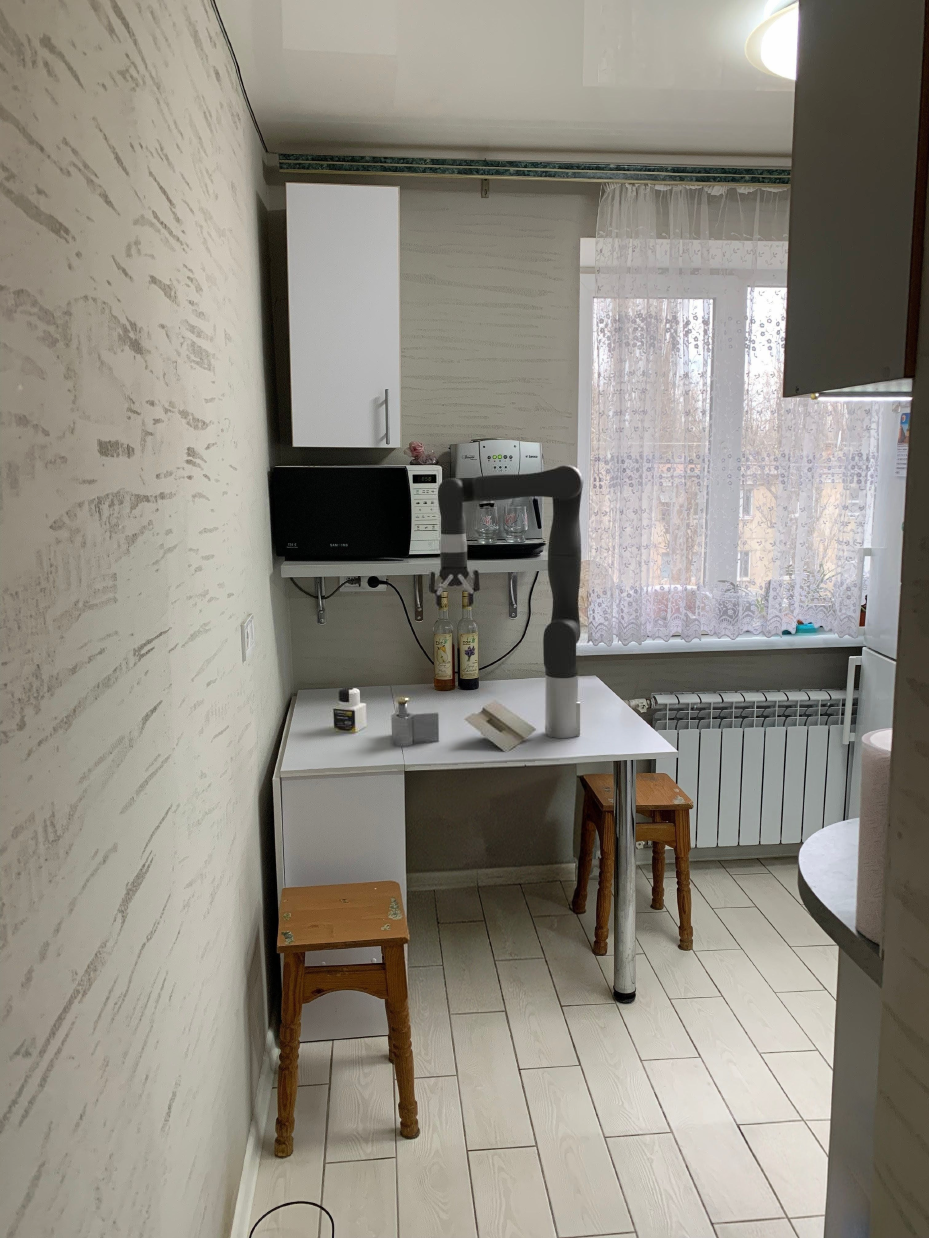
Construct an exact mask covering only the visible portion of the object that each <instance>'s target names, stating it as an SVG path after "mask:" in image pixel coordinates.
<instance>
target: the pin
mask: <svg viewBox="0 0 929 1238" xmlns="http://www.w3.org/2000/svg"><path fill="white" fill-rule="evenodd" d="M395 700H396V703H397V706H398V711H399V717H407V713H408V703H409V702H410V698H409V697H408V696H399V697H396V699H395Z"/></svg>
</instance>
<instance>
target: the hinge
mask: <svg viewBox="0 0 929 1238" xmlns="http://www.w3.org/2000/svg"><path fill="white" fill-rule="evenodd" d="M395 712H396V713H393V714H391V716H390V717H391V744H392V745H393V746H395V747H401V748H404V747H410V746H413V745H414V744H422V743H434V742H435V743H436V742H440V739H439V738H440V734H439V733H440V732H439V730H440V729H439V728H440V727H439V725H440V724H439V723H440V722H439V719H440V718H439V712H428V713H425V712H424V713H412V712H407V717H399V711H398V705H397V706H395Z"/></svg>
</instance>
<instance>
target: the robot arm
mask: <svg viewBox="0 0 929 1238" xmlns="http://www.w3.org/2000/svg"><path fill="white" fill-rule="evenodd" d="M583 488H584V477H583V474H582V473H581V471H580V470H579V469H578V468H577V467H575V466H573V465H570V464H569V465H568V464H565V465H563V464H562V465H559V466H557V467H555V468H551V469H548V470H544V471H539V472H531V473H521V474H517V473H515V474H512V473H511V474H510V473H509V474H507V473H506V474H504V473H503V474H491V475H488V474H487V475H480V476H475V477H453V478H451V477H450V478H446V479H443V480H442V481H440V483H439V486H438V488H437V502H438V509H439V513H440V541H439V545H440V547H439V548H440V549H439V553H440V555H439V557H440V559H439V560H440V569H439V571H432V570H431V571H429V574H428V575H429V579H428V591H429V593H431V594H434V595H435V606H437V608H438V609H442V608H443V607H442V604H443V601H442V599H443V598H442V596H443V595H442V593H443V591H444V590H445V589H446V588H447V586H448V587H454V586H456V587H461V586H463V587H464V589H465V590H466V591H467V592H466V593H467V594H466V597H467V598H466V599H467V600H466V601H467V602H466V603H467V604H466V605H467V607H468V608H469V607H472V605H473V604H474V593H475V592H479V591H480V590H481V589H480V587H481V585H480V575H479V573H480V572H479V570H477V569H473V570H469V569H468V544H467V536H466V535H467V534H466V533H467V532H466V531H467V530H466V525H467V524H466V523H467V522H466V521H467V520H466V517H465V514H464V509H463V507H464V506H463V505H464V504H463V503H469V502H494V501H495V502H496V501H506V500H511V499H512V500H513V499H519V498H532V497H533V498H534V497H542V498H552V520H551V521H552V522H551V528H550V531H549V533H550V534H549V537H548V538H549V539H548V546H547V574H548V575H547V577H548V580H549V586H550V590H551V595H552V608H551V611H552V612H551V620H550V623H548V625H546V627H545V629H544V631H543V637H542V639H543V640H542V643H543V645H542V648H543V651H542V652H543V666H544V670H545V672H544V673H545V674H544V675H545V679H544V680H545V681H544V682H545V685H544V688H545V690H544V691H545V693H544V695H545V696H544V697H545V699H544V700H545V701H544V704H545V706H544V713H545V714H544V720H545V722H544V732H545V733H544V734H545V735H546V736H547V737H549V738H550V737H551V738H556V739H568V738H569V739H570V738H575V737H578V736H581V702H580V701H579V665H578V663H577V644H578V642H579V641H580V638H581V631H582V630H581V622H580V621H581V620H580V609H579V608H580V607H579V597H580V595H579V594H580V585H581V572H582V536H581V535H582V533H581V525H580V524H581V523H580V510H581V509H580V508H581V501H582V492H583ZM469 576H470V577H471V578H472V580H473V581H472V584H473V586H472V587H471V586H470V583H468V581H467V580H466V579H468V577H469ZM439 577H440V578H441V581H440V583H439V584H438V587H437V588H435V586H436V580H437V579H438V578H439Z"/></svg>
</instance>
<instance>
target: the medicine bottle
mask: <svg viewBox="0 0 929 1238" xmlns="http://www.w3.org/2000/svg"><path fill="white" fill-rule="evenodd" d="M360 693H361V692H360V690H359V689H358V688H356V687H345V688H341V689H340V690H339V691H338V703H339V704H338V705H336V706H333V708H332V710H333V712H332V714H333V731H335V732H341V733H351V734H356V733H358V732H359V731H362V730H363V729H365V728H366V727H367V704H366V703H364V702H361V698H360V697H361V694H360Z"/></svg>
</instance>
